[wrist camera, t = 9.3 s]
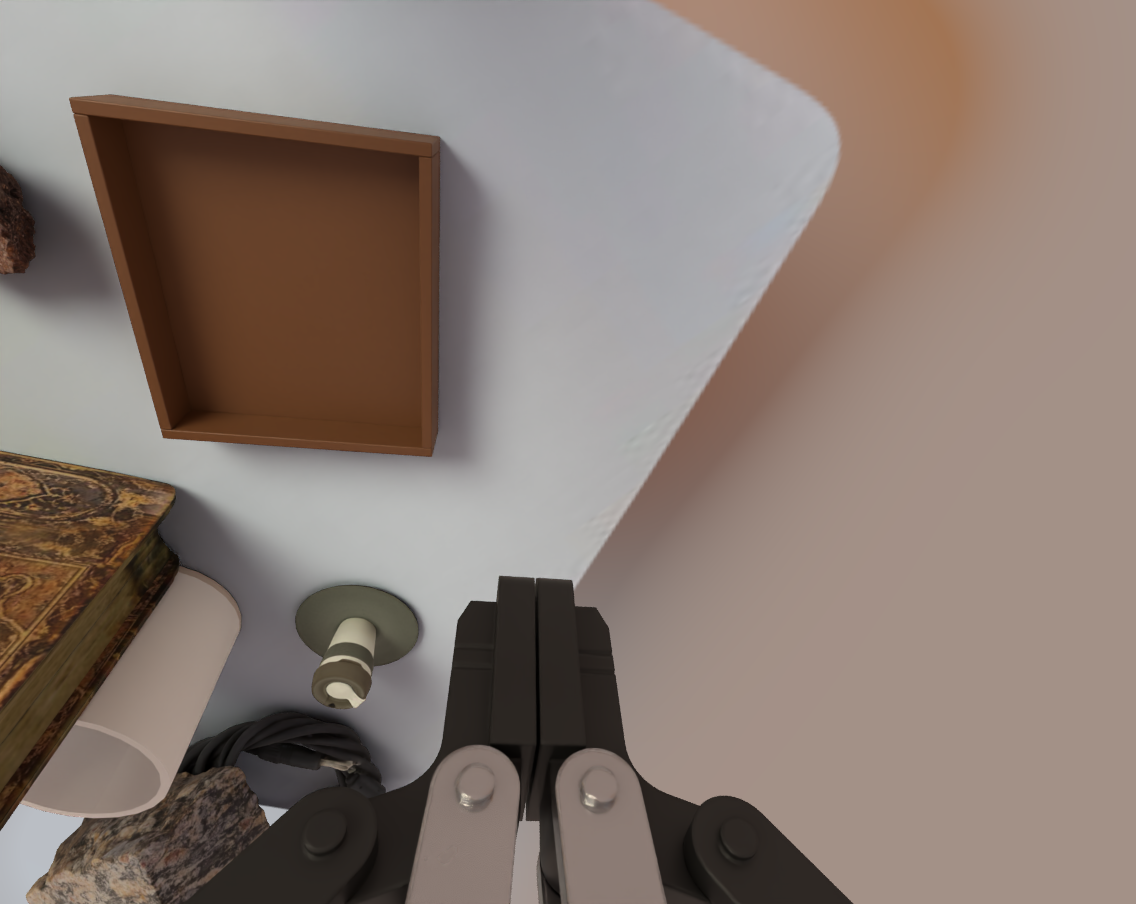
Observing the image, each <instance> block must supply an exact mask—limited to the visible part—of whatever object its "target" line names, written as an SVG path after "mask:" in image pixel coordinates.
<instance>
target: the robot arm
mask: <svg viewBox="0 0 1136 904" xmlns="http://www.w3.org/2000/svg"><path fill="white" fill-rule="evenodd" d="M614 671H615V669H614V662H613V656H612V648H611V640H610V633H609V628H608V626H607V624H606V623H605V621H604V620H603V618H602V616H601V615H600V613H599V612H598V610H597V608H595V607H578V606H575V604H574V591H573V583H572V580H563V579H547V578H537V579H536V583H535V580H534V578H528V577H511V576H499V581H498V590H497V600H496V602H485V601H470V603H469V604H468V606H467V607H466V609H465V610H464V612H463V613H462V615H461V616H460V618H459V619H458V623H457V631H456V638H455V647H454V654H453V662H452V670H451V677H450V685H449V693H448V701H447V709H446V716H445V724H444V732H443V740H442V744H441V748H440V751H439V753H438V756H437V757H436V759H435V761H434V763H433V764H432V765H431V766H430V768H429V769H428V770H427V771H426V772H425V773H424V774H423V775H422V776H421V777H419V778H418V779H417V780H415V781H414V782H412V783H410V784H408V785H406V786H404V787H401V788H399V789H396V790H393V791H390V792H387V793H383V794H380V795H377V796H374V797H371V798H368V799H367V798H366V797H365V796H364V795H363V794H361V793H360V792H358V791H356V790H354V789H351V788H347V787H339V786H336V787H328V788H324V789H320V790H317V791H315V792H313V793H311V794H309V795H307V796H305V797H304V798H302V799H301V800H300V801H298V802H297V803H296V804H295V805H294V806H292V807H291V808H290V809H289V810H288V811H287V812H286V813H285V814H284V815H282V816H281V817H280V818H279V819H278V820H277V821H276V822H275V823H274V824H272V825H271V826H270V827H269V828H268V829H267V830H266V831H264V832H263V833H262V834H261V835H260V836H259V837H258V838H257V839H255V840H254V841H253V842H252V843H251V844H250V845H249V846H248V847H246V848H245V849H244V850H243V851H242V852H241V853H240V854H239V855H238V856H236V857H235V858H234V859H233V860H232V861H231V862H230V863H229V864H227V865H226V866H225V867H224V868H223V869H222V870H221V871H220V872H218V873H217V874H216V875H215V876H214V877H213V878H212V879H211V880H209V881H208V882H207V883H206V884H205V885H204V886H203V887H202V888H200V889H199V890H198V891H197V892H196V893H195V894H194V895H193V896H192V897H190V898H189V899H188V900H187V901H186V902H185V903H184V904H510V899H511V889H512V877H513V865H514V854H515V842H516V835H517V831H518V825H519V821H522V819H523V813H524V808H525V803H526V821H540V852H539V857H538V861H537V886H538V900H539V904H853V903H852V902H851V901H850V900H849V899H848V898H847V897H846V896H845V895H844V894H843V893H842V892H841V891H840V890H839V889H838V888H837V887H836V886H835V885H834V884H833V883H832V882H831V881H829V879H828V878H827V877H826V876H825V875H823V873H822V872H821V871H820V870H819V869H818V868H817V867H816V866H815V865H814V864H813V863H812V862H810V860H808V859H807V858H806V857H805V856H804V855H803V854H802V853H801V852H800V851H799V850H798V849H797V848H796V847H795V846H794V845H793V844H792V843H791V842H790V841H789V840H788V839H787V838H786V837H785V836H784V835H783V834H782V833H781V832H780V831H779V830H778V829H777V828H776V827H775V826H774V825H773V824H772V823H771V822H770V821H769V820H768V819H767V818H766V817H765V816H764V815H763V814H762V813H761V812H760V811H759V810H757V809H756V808H755V807H754V806H752V805H751V804H749V803H748V802H745V801H743V800H741V799H739V798H735V797H731V796H717V797H713V798H710V799H708V800H707V801H705V802H704V803H703V804H701V806H698V805H696V804H693V803H691V802H688V801H685V800H683V799H680V798H677V797H674V796H672V795H669V794H666V793H664V792H662V791H660V790H658V789H656V788H655V787H653V786H652V785H650V784H649V783H648V782H647V781H645V780H644V779H643V778H642V777H641V775H640V774H639V773H638V772H637V771H636V769H635V768H634V766H633V765H632V763H631V761H630V759H629V756H628V754H627V751H626V746H625V740H624V733H623V727H622V719H621V712H620V705H619V697H618V691H617V683H616V676H615V674H614Z"/></svg>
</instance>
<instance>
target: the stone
mask: <svg viewBox="0 0 1136 904" xmlns="http://www.w3.org/2000/svg"><path fill="white" fill-rule="evenodd" d="M22 202H23V195H22V190H21V187H20V185H19V184H18V182H17V181H16V180H15V178H14V177H13V176H12V175H11V174H9V173H7V172H6V170H5V169H4V168H3V167H2V166H1V165H0V274H8V273H25V269H27V268H28V267H29V261H31V260H32V259H33V258H34V257H35V245H34V244H33V235H34V234H35V233H36V232H35V229H34V224H35V221H34V219H33V217H32V216H31V215H30V213H29V212H28V211H27V210H25V209H24V208H23V206H22Z"/></svg>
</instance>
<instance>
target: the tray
mask: <svg viewBox="0 0 1136 904" xmlns="http://www.w3.org/2000/svg"><path fill="white" fill-rule="evenodd" d="M69 100H70V104H71V108H72V111H73V113H75V114H74V119H75V122H76V126H77V130H78V133H79V137H80V140H81V144H82V148H83V151H84V155H85V158H86V162H87V166H88V169H89V173H90V176H91V180H92V184H93V187H94V191H95V194H96V198H97V202H98V205H99V209H100V212H101V216H102V220H103V223H104V227H105V230H106V234H107V238H108V241H109V245H110V248H111V252H112V256H113V259H114V263H115V266H116V270H117V273H118V277H119V281H120V284H121V288H122V291H123V295H124V299H125V302H126V306H127V309H128V313H129V317H130V320H131V324H132V327H133V331H134V335H135V338H136V342H137V345H138V349H139V353H140V356H141V360H142V363H143V367H144V371H145V374H146V378H147V381H148V385H149V389H150V392H151V396H152V399H153V403H154V407H155V410H156V414H157V417H158V421H159V425H160V428H161V432H162V435H163V438H168V439H183V440H197V441H211V442H226V443H240V444H254V445H269V446H283V447H297V448H312V449H326V450H340V451H355V452H369V453H383V454H398V455H412V456H426V457H432V454H433V450H434V446H435V442H436V438H437V434H438V387H439V239H440V137H439V136H431V135H424V134H416V133H408V132H400V131H392V130H384V129H377V128H369V127H361V126H353V125H345V124H337V123H330V122H322V121H314V120H306V119H298V118H290V117H283V116H275V115H267V114H259V113H251V112H243V111H236V110H228V109H220V108H212V107H204V106H197V105H189V104H181V103H173V102H165V101H157V100H150V99H142V98H134V97H126V96H118V95H97V96H84V97H71V98H69Z"/></svg>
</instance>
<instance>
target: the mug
mask: <svg viewBox="0 0 1136 904" xmlns="http://www.w3.org/2000/svg"><path fill="white" fill-rule="evenodd" d="M240 629H241V613H240V611H239V608H238V606H237V603H236V601H235V600H234V599H233V597H232V596H231V595H230V594H229V592H228V591H227V590H226V589H224V588H223V587H222V586H221V585H219V584H218V583H217V582H216V581H214V580H212V579H211V578H209V577H207V576H205V575H203V574H201V573H199V572H196V571H193V570H190V569H187V568H184V567H181V566H179V570H178V573H177V575H176V576H175V578H174V581H173V583H172V584H171V586H170V587H169V589H168V590H167V592H166V593H165V595H164V596H163V598H162V599H161V601H160V602H159V603H158V605H157V606H156V608H155V609H154V611H153V612H152V614H151V615H150V616H149V618H148V619H147V621H146V622H145V624H144V625H143V627H142V628H141V629H140V631H139V632H138V634H137V635H136V637H135V638H134V639H133V641H132V642H131V644H130V645H129V647H128V648H127V650H126V651H125V652H124V654H123V655H122V657H121V658H120V660H119V661H118V662H117V664H116V665H115V667H114V668H113V670H112V671H111V673H110V674H109V675H108V677H107V678H106V680H105V681H104V683H103V684H102V686H101V687H100V688H99V690H98V691H97V693H96V694H95V696H94V697H93V698H92V700H91V701H90V703H89V704H88V706H87V707H86V709H85V710H84V711H83V713H82V714H81V716H80V717H79V719H78V720H77V721H76V723H75V724H74V726H73V727H72V729H71V730H70V732H69V733H68V734H67V736H66V737H65V739H64V740H63V742H62V743H61V745H60V746H59V747H58V749H57V750H56V752H55V753H54V755H53V756H52V757H51V759H50V760H49V762H48V763H47V765H46V766H45V768H44V769H43V770H42V772H41V773H40V775H39V776H38V778H37V779H36V780H35V782H34V783H33V785H32V786H31V788H30V789H29V791H28V792H27V793H26V795H25V796H24V798H23V799H22V801H21V802H20V804H23V805H26V806H29V807H33V808H36V809H39V810H42V811H45V812H50V813H56V814H61V815H66V816H73V817H85V818H113V817H122V816H127V815H132V814H137V813H140V812H142V811H145V810H147V809H150V808H152V807H154V806H155V805H157V804H158V803H159V802H160V801H161V800H163V799H164V798H165V796H166V794H167V793H168V790H169V788H170V786H171V784H172V782H173V780H174V778H175V775H176V773H177V771H178V769H179V766H180V764H181V762H182V760H183V757H184V755H185V753H186V751H187V748H188V746H189V744H190V742H191V739H192V737H193V735H194V732H195V730H196V728H197V726H198V723H199V721H200V719H201V717H202V714H203V712H204V710H205V708H206V705H207V703H208V701H209V699H210V696H211V694H212V692H213V690H214V687H215V685H216V683H217V681H218V678H219V676H220V674H221V672H222V669H223V667H224V665H225V663H226V660H227V658H228V656H229V654H230V651H231V649H232V647H233V645H234V642H235V640H236V638H237V636H238V633H239V631H240Z"/></svg>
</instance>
